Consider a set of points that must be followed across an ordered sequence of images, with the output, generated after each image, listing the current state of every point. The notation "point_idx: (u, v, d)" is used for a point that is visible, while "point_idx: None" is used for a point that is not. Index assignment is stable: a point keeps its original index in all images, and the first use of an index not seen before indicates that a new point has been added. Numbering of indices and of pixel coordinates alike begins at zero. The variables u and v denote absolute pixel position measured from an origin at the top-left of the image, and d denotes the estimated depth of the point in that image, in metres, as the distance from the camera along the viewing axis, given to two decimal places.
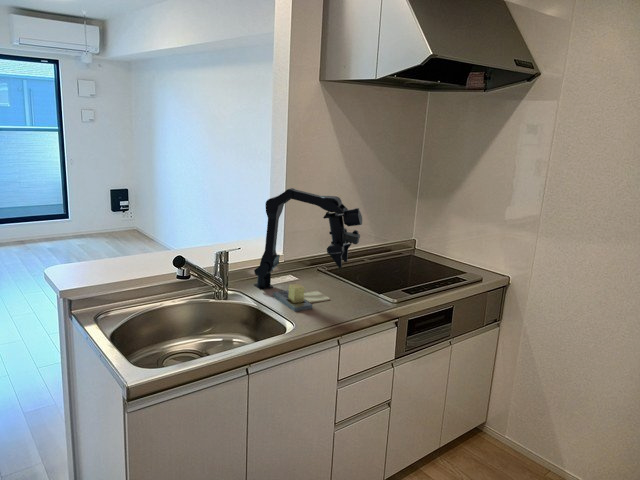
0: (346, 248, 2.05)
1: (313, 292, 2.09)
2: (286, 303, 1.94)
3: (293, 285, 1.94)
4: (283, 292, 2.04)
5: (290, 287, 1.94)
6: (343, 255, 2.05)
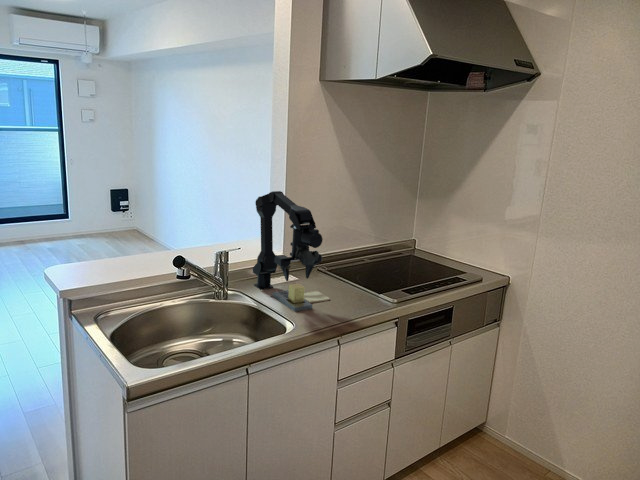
0: (310, 265, 1.94)
1: (313, 292, 2.09)
2: (286, 303, 1.94)
3: (293, 285, 1.94)
4: (283, 292, 2.04)
5: (290, 287, 1.94)
6: (306, 270, 1.96)
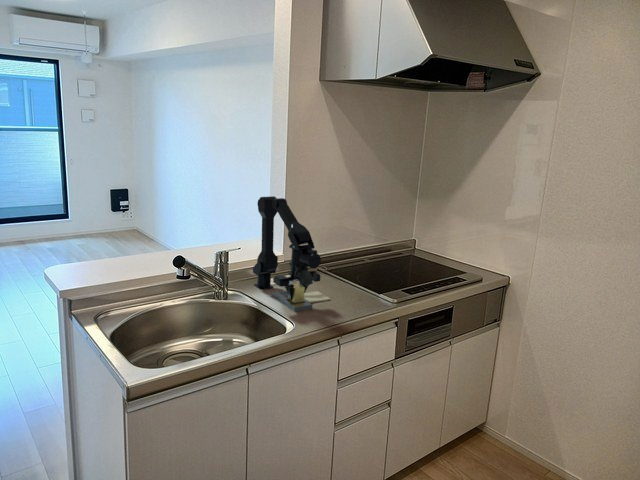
0: (304, 285, 1.95)
1: (313, 292, 2.09)
2: (286, 303, 1.94)
3: None
4: (283, 292, 2.04)
5: None
6: None
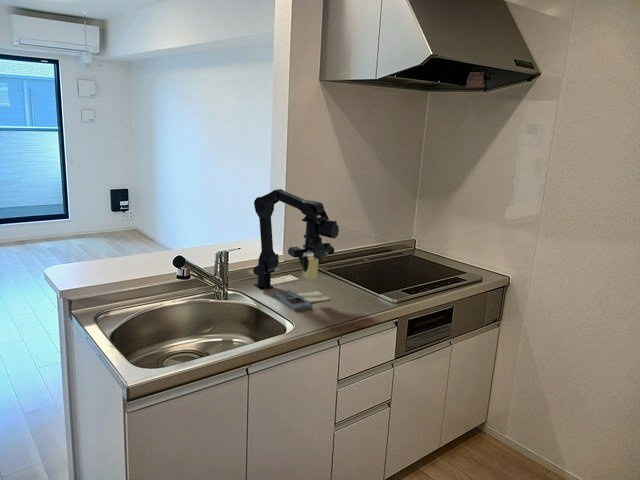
0: (318, 257, 1.98)
1: (313, 292, 2.09)
2: (286, 303, 1.94)
3: None
4: (283, 292, 2.04)
5: None
6: None
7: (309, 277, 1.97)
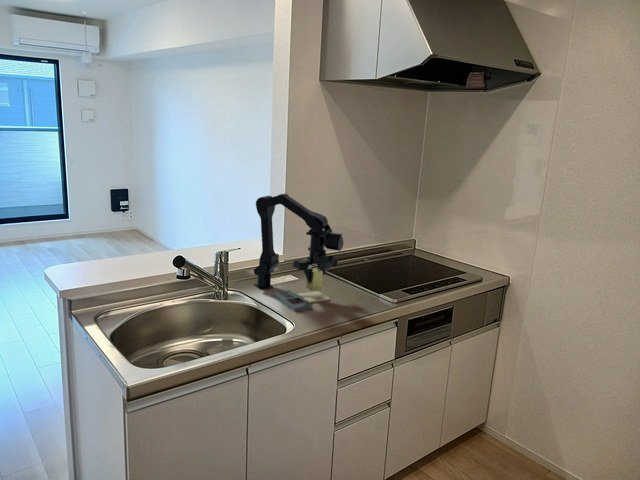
0: (322, 269, 2.03)
1: (313, 292, 2.09)
2: (286, 303, 1.94)
3: None
4: (283, 292, 2.04)
5: None
6: None
7: (314, 289, 2.01)
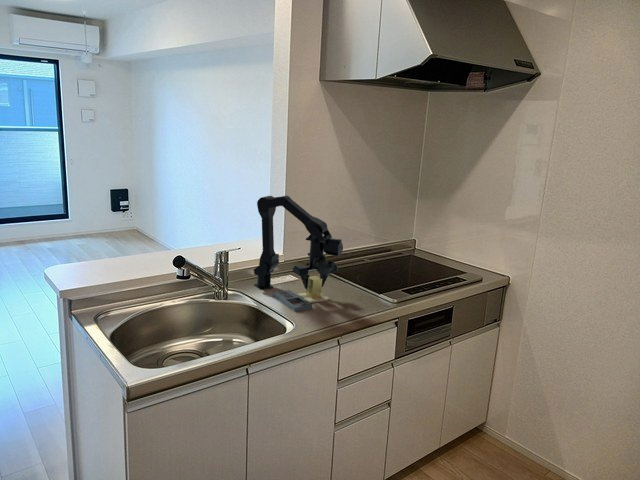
0: (324, 274, 2.04)
1: None
2: (286, 303, 1.94)
3: (311, 277, 2.03)
4: (283, 292, 2.04)
5: (308, 279, 2.03)
6: None
7: (313, 296, 2.02)
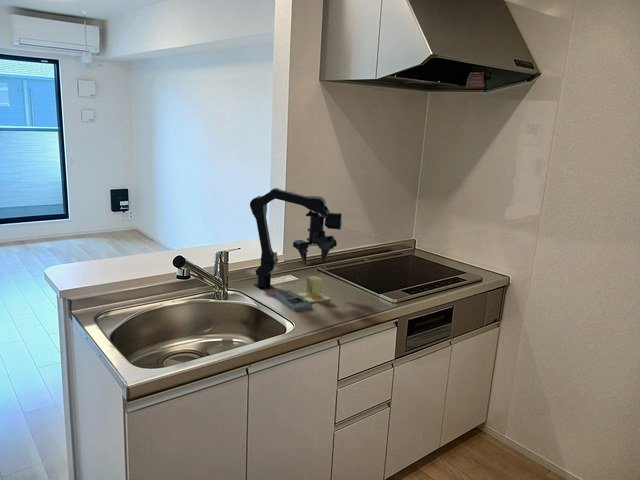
0: (325, 249, 2.09)
1: None
2: (286, 303, 1.94)
3: (311, 277, 2.03)
4: (283, 292, 2.04)
5: (308, 279, 2.03)
6: (322, 255, 2.11)
7: (313, 296, 2.02)
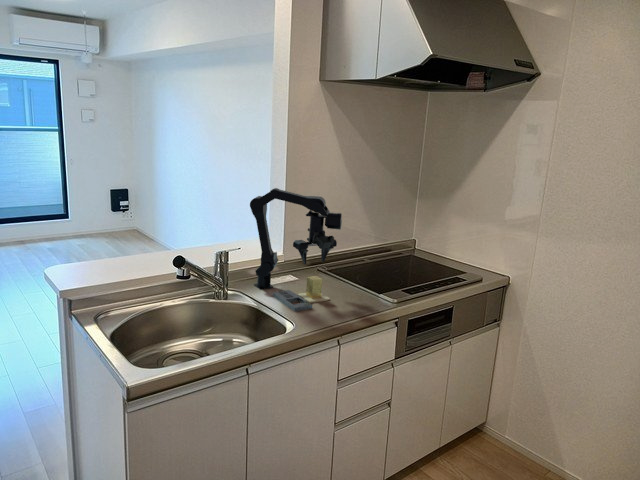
0: (325, 249, 2.09)
1: None
2: (286, 303, 1.94)
3: (311, 277, 2.03)
4: (283, 292, 2.04)
5: (308, 279, 2.03)
6: (322, 255, 2.11)
7: (313, 296, 2.02)
